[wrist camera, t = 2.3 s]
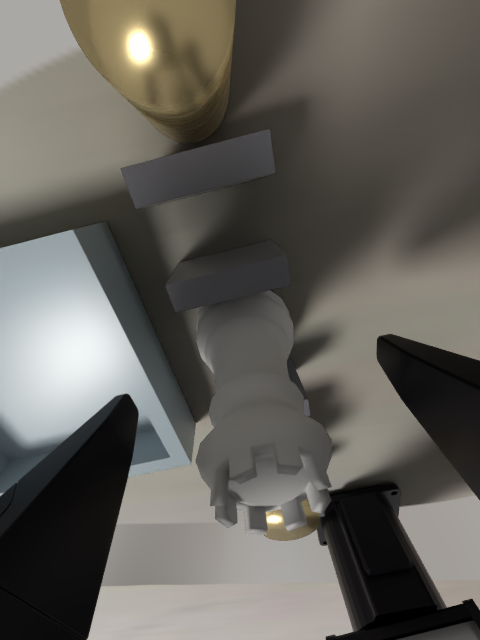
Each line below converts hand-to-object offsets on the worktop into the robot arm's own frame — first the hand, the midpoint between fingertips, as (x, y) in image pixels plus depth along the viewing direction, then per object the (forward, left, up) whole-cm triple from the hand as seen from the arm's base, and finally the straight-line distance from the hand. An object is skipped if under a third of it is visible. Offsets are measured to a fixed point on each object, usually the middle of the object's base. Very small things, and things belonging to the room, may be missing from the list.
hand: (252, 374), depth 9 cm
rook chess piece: (0, 0, -4) cm, 4 cm away
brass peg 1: (+9, 0, -4) cm, 10 cm away
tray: (0, +10, -4) cm, 11 cm away
